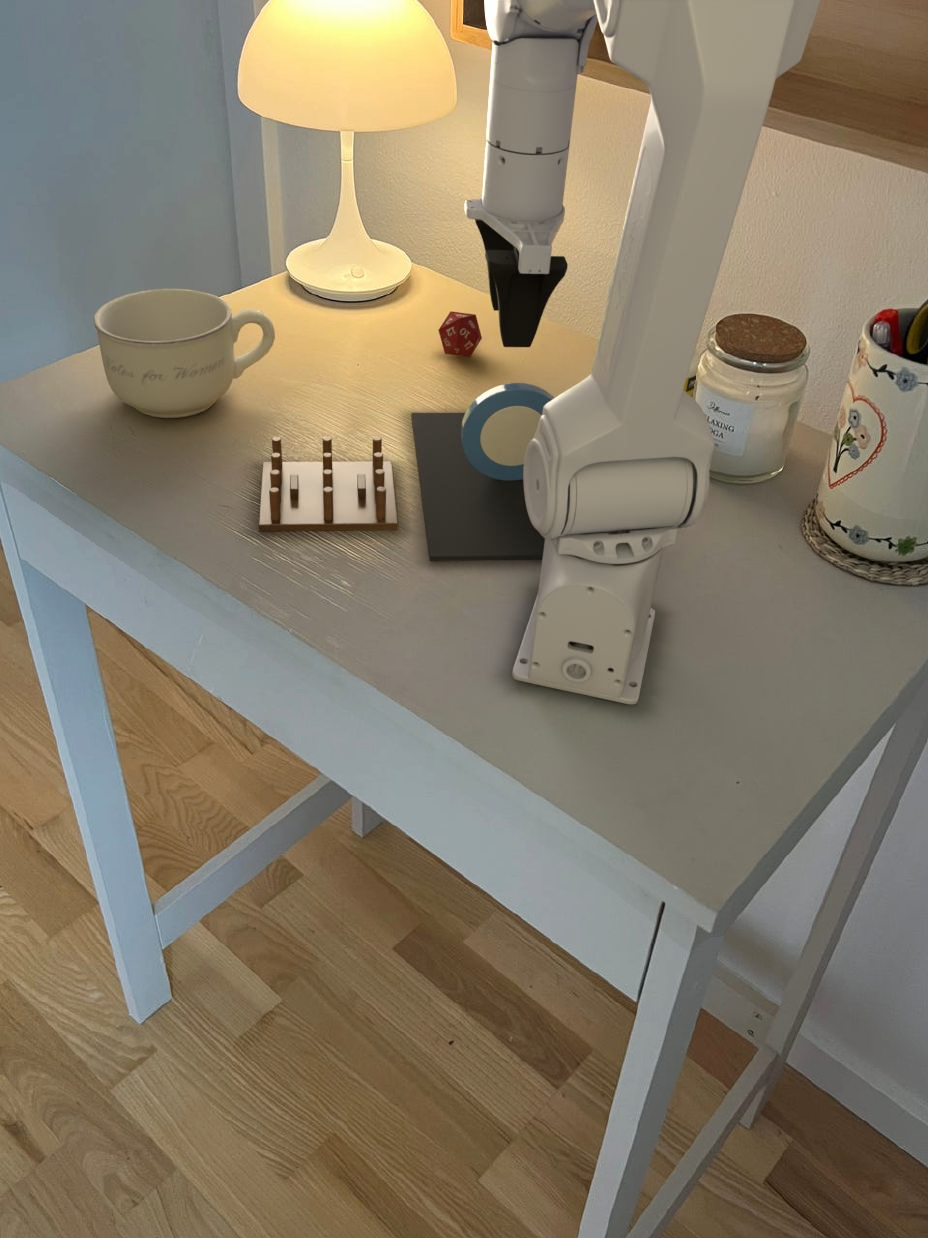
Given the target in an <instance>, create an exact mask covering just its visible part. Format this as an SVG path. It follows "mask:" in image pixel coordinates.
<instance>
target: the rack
mask: <svg viewBox="0 0 928 1238" xmlns="http://www.w3.org/2000/svg"><path fill="white" fill-rule="evenodd" d="M332 441H333V439H332V437H331V436H323V437H322V461H283V448H282V447H283V446H282V438H281V437H280V436H273V437H272V438H271V446H272V447H271V448H272V449H271V450H272V453H271V454H270V461H262V467H261V480H260V481H261V483H260V496H259V497H260V499H259V511H258V531H259V532H307V531H308V532H310V531H311V532H313V531H316V532H317V531H321V532H323V531H394V530H398V529H399V527H398V526H399V522H398V511H397V500H396V491H395V480H394V479H395V478H394V470H393V461H391V460H387V461H386V460H385V461H384V454H383V439H382V437H381V436H373V437H372V460H371V461H369V460H368V461H367V460H365V461H363V460H361V461H357V460H355V461H333V442H332Z"/></svg>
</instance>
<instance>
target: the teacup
mask: <svg viewBox="0 0 928 1238" xmlns="http://www.w3.org/2000/svg"><path fill="white" fill-rule="evenodd" d="M93 324H94V328H95V329H96V332H97V339H98V345H99V350H100V355H101V361H102V364H103V369H104V373H105V377H106V380H107V383H108V386H109V387H110V390H111V391H112V392H113V394H114V395H115V396H116V397H117V398H118V399H119V400H120V401H122V402H123V403H124V404H126V405H128V406H129V407H132V408H134V409H135V410H137V411H138V412H140V413H141V414H144V415H147V416H149V417H155V418H161V419H178V418H185V417H187V418H188V417H190V416H195V415H197V414H200V413H202V412H205V411H207V410H208V409H209V408H211V407H212V406H213V405H214V404H215V403H216V402H217V401H218V400H220V399H221V397H223V396H224V395H225V394H226V393H227V391H228V390H229V389H230V387H231V385H232V383H233V380H236V379H238V378H241V376H242V375H243V373H244V371H245V370H246V369H248V368H250V367H251V366H253V365H254V364H255V363H257V362H259V361H260V360H261V359H263V358H264V357H265V356H266V355H267V354H268V353H269V352H270V350H271V349H272V347H273V345H274V342H275V339H276V334H275V333H276V331H275V328H274V324H273V322H272V320H271V319H270V317H269V316H268V315H267V314H266V313H264V312H263V311H261V310H258V309H255V308H254V309H253V308H250V309H249V308H248V309H243V310H241V311H239V312H237V313H236V314H235V315H233V312H232V308H231V306H230V305H229V304H228V303H227V302H226V301H225V300H224V299H222V298H221V297H219V296H217V295H214V294H211V293H207V292H204V291H200V290H193V289H187V288H186V289H184V288H158V289H147V290H141V291H139V292H131V293H128V294H125V295H121V296H119V297H116V298H114V299H111V300H110V301H108V302H107V303H105V304H103V305H102V306H101V307H100V308H99V309H98V310H97V311H96V312H95V314H94V316H93ZM249 324H256V325H258V326H259V327H260V328H261V331H262V338H261V340H259V342H258V344H256V345H255V346H254V347H253V348H252V349H251V350H249V351H248V352H246V353H244V354H242V355H240V356H237V357H235V343H237V341H238V338H239V333H240V331H241V329H242V328H243V327H245V325H249Z"/></svg>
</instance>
